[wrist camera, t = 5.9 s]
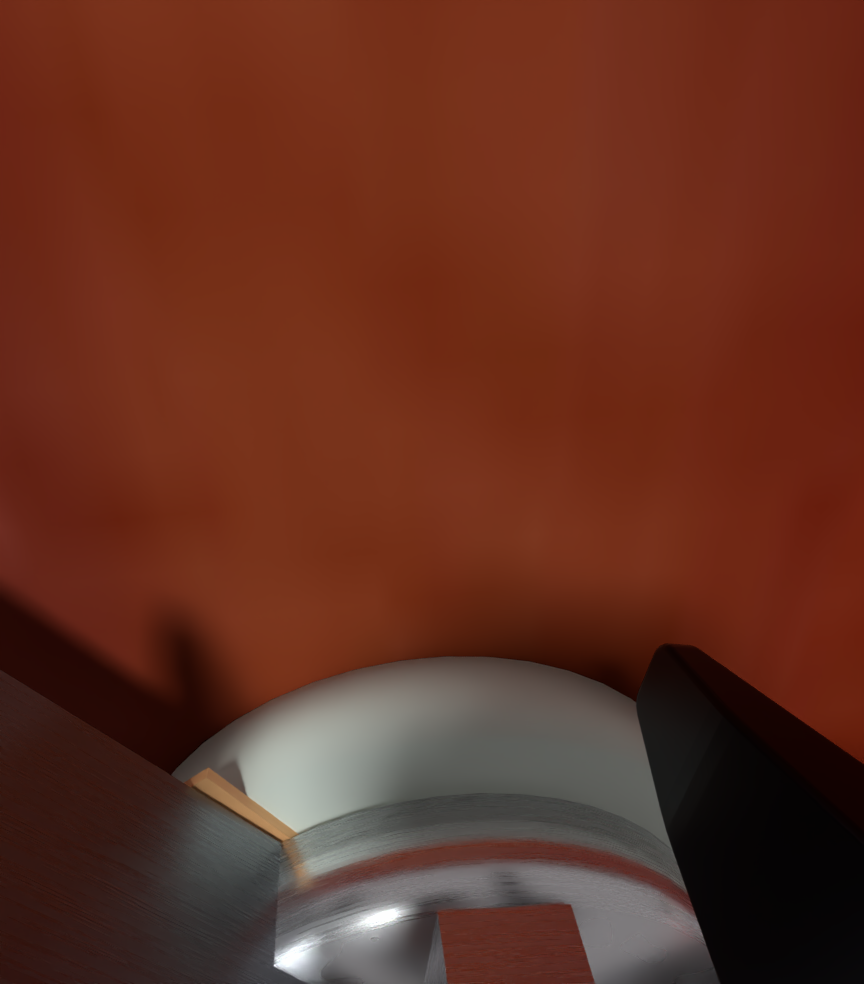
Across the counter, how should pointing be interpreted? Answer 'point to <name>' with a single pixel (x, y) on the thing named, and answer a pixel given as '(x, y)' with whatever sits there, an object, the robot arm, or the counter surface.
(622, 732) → the nut base
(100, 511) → the counter surface
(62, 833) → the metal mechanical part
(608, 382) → the counter surface
